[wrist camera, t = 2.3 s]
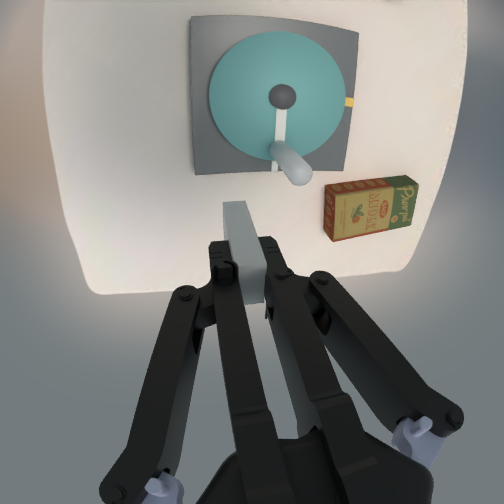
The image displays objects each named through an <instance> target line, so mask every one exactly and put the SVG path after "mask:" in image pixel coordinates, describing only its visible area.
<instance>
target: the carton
mask: <svg viewBox="0 0 504 504" xmlns="http://www.w3.org/2000/svg"><path fill="white" fill-rule="evenodd" d="M418 188H419V185H418V183H416V182H415V181H414V180H412V179H411V178H409V177H408V176H406V175H403V176H394V177H385V178H376V179H367V180H359V181H351V182H344V183H337V184H329V185H325V206H324V226H323V228H324V231H325V232H326V234H327V235H328V237H329V238H330V239H331V241H332V242H336V241H340V240H345V239H350V238H354V237H359V236H363V235H368V234H373V233H378V232H382V231H387V230H392V229H397V228H401V227H406V226H410V225H411V222H412V217H413V213H414V208H415V203H416V198H417V193H418Z"/></svg>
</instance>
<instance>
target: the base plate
mask: <svg viewBox="0 0 504 504" xmlns="http://www.w3.org/2000/svg"><path fill="white" fill-rule="evenodd" d="M272 31H284V32H291V33H295V34H299V35H302V36H304V37H307V38H309V39H311V40H313V41H314V42H316V43H317V44H319V45H320V46H321V47H323V48H324V49H325V50H326V51H327V52H328V53H329V54H330V55H331V56H332V58H333V59H334V61H335V62H336V63H337V65H338V67H339V69H340V71H341V74H342V77H343V80H344V84H345V93H346V98H345V107H344V112H343V115H342V118H341V120H340V122H339V125H338V126H337V128H336V130H335V131H334V133H333V134H332V135H331V136H330V138H329V139H328V140H327V141H326V142H325V143H324V144H322V145H321V146H320V147H318V148H317V149H316V150H314V151H312V152H310V153H308V154H306V155H304V156H301V157H302V158H303V159H304V160H305V161H306V162H307V163H308V164H309V165H310V167H311V168H312V171H343V168H344V162H345V156H346V150H347V143H348V137H349V130H350V122H351V114H352V107H353V102H354V89H355V79H356V67H357V55H358V39H359V33H358V32H354V31H350V30H346V29H342V28H338V27H333V26H328V25H323V24H318V23H312V22H306V21H300V20H292V19H284V18H274V17H262V16H241V15H213V16H192V17H191V107H192V132H193V151H194V167H195V175H206V174H220V173H237V172H260V171H282V169H281V168H280V167H279V165H278V164H277V163H276V161H272V160H264V159H260V158H256V157H253V156H251V155H248V154H246V153H244V152H242V151H241V150H239V149H237V148H236V147H235V146H234V145H232V144H231V143H230V142H229V141H228V140H227V139H226V138H225V137H224V135H223V134H222V133H221V131H220V130H219V128H218V126H217V125H216V123H215V120H214V118H213V115H212V112H211V108H210V102H209V87H210V82H211V78H212V75H213V72H214V70H215V68H216V66H217V64H218V63H219V61H220V60H221V58H222V57H223V56H224V55H225V54H226V53H227V52H228V51H229V50H230V49H231V48H232V47H233V46H235V45H236V44H237V43H239V42H241V41H243V40H244V39H246V38H248V37H251V36H253V35H256V34H260V33H264V32H272Z"/></svg>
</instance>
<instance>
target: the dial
mask: <svg viewBox="0 0 504 504" xmlns="http://www.w3.org/2000/svg"><path fill="white" fill-rule="evenodd" d="M345 98H346V93H345V84H344V80H343V77H342V74H341V71H340V69H339V67H338V65H337V63H336V62H335V61H334V59H333V58H332V56H331V55H330V54H329V53H328V52H327V51H326V50H325V49H324V48H323V47H321V46H320V45H319V44H317V43H316V42H314V41H313V40H311V39H309V38H307V37H304V36H302V35H299V34H295V33H291V32H284V31H272V32H264V33H260V34H256V35H253V36H251V37H248V38H246V39H244V40H243V41H241V42H239V43H237V44H236V45H235V46H233V47H232V48H231V49H230V50H229V51H228V52H227V53H226V54H225V55H224V56H223V57H222V58H221V60H220V61H219V63H218V64H217V66H216V68H215V70H214V72H213V75H212V78H211V82H210V87H209V102H210V108H211V112H212V115H213V118H214V120H215V123H216V125H217V126H218V128H219V130H220V131H221V133H222V134H223V135H224V137H225V138H226V139H227V140H228V141H229V142H230V143H231V144H232V145H234V146H235V147H236V148H237V149H239V150H241V151H242V152H244V153H246V154H248V155H251V156H253V157H256V158H260V159H264V160H272V161H276V163H277V164H278V165H279V167H280V168H281V169H282V171H283V172H284V173H285V175H286V176H287V177H288V179H289V180H290V182H291V183H292V184H294V185H297V186H302V185H305V184H307V183H308V182H309V181H310V180H311V178H312V175H313V171H312V168H311V167H310V165H309V164H308V163H307V162H306V161H305V160H304V159H303V158H302V157H301V156H304V155H306V154H308V153H310V152H312V151H314V150H316V149H317V148H318V147H320V146H321V145H322V144H324V143H325V142H326V141H327V140H328V139H329V138H330V136H331V135H332V134H333V133H334V131H335V130H336V128H337V126H338V125H339V122H340V120H341V118H342V115H343V112H344V107H345Z"/></svg>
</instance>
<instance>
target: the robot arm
mask: <svg viewBox="0 0 504 504" xmlns="http://www.w3.org/2000/svg"><path fill="white" fill-rule="evenodd" d="M223 226H224V241H213V242H211V243H210V245H209V247H208V248H209V259H210V270H211V279H210V281H209V283H208V284H207V285H205V286H203V287H201V288H198V289H197V288H195V287H194V286H190V285H184V286H181V287H178V288H177V289H176V290H174V292H173V294H172V297H171V299H170V302H169V305H168V308H167V311H166V314H165V317H164V320H163V323H162V325H161V328H160V332H159V335H158V338H157V341H156V344H155V347H154V350H153V353H152V356H151V360H150V363H149V366H148V369H147V373H146V376H145V380H144V383H143V387H142V390H141V393H140V397H139V401H138V404H137V408H136V412H135V415H134V419H133V423H132V427H131V431H130V435H129V439H128V443H127V447H126V448H125V450H124V451H123V453H122V454H121V455H120V457H119V458H118V460H117V461H116V463H115V464H114V465H113V467H112V468H111V469H110V471H109V472H108V474H107V475H106V476H105V478H104V479H103V481H102V482H101V484H100V487H99V494H100V497H101V499H102V501H103V502H104V503H105V504H183V503H182V499H183V495H184V488H183V485H182V483H181V482H180V481H179V480H178V479H176V478H175V477H174V476H175V473H176V471H177V468H178V465H179V461H180V456H181V451H182V445H183V439H184V433H185V428H186V422H187V417H188V411H189V406H190V401H191V395H192V389H193V385H194V380H195V374H196V370H197V365H198V360H199V355H200V350H201V344H202V340H203V335H204V331H205V328H206V327H208V326H211V325H213V324H217V332H218V339H219V347H220V353H221V361H222V368H223V375H224V382H225V388H226V395H227V401H228V407H229V412H230V419H231V425H232V431H233V436H234V442H235V448H236V451H235V452H234V453H232V454H231V455H230V456H229V457H228V458H226V460H225V461H224V462H223V463H222V465H221V466H220V468H219V469H218V471H217V472H216V474H215V476H214V477H213V479H212V480H211V482H210V484H209V485H208V486H207V488H206V489H205V491H204V492H203V494H202V495H201V497H200V498H199V500H198V501H197V502H196V504H431V499H432V493H433V487H434V486H433V484H434V482H433V477H432V475H431V473H430V471H429V469H430V467H431V465H432V463H433V461H434V460H435V458H436V456H437V454H438V452H439V450H440V448H441V446H442V444H443V442H444V440H445V438H446V437H447V436H449V435H450V434H452V433H453V432H455V431H457V430H458V429H460V428H461V426H462V424H463V421H464V414H463V411H462V409H461V408H460V407H459V406H458V405H456V404H455V403H453V402H452V401H450V400H449V399H447V398H446V397H444V396H442V395H441V394H439V393H438V392H436V391H435V390H433V389H432V388H430V387H428V385H427V384H426V383H425V382H424V380H423V379H422V378H421V377H420V376H419V374H418V373H417V372H416V371H415V369H414V368H413V367H412V366H411V364H410V363H409V362H408V361H407V360H406V358H405V357H404V356H403V355H402V354H401V352H400V351H399V350H398V349H397V348H396V347H395V345H394V344H393V343H392V342H391V341H390V340H389V338H388V337H387V336H386V335H385V334H384V333H383V331H382V330H380V328H379V327H378V326H377V325H376V323H375V322H374V321H373V320H372V319H371V318H370V317H369V316H368V314H367V313H366V312H365V311H364V310H363V309H362V308H361V306H360V305H359V304H358V303H357V302H356V301H355V300H354V299H353V297H352V296H351V295H350V294H349V293H348V292H347V291H346V290H345V289H344V288H343V286H342V285H341V284H340V283H339V282H338V281H337V280H336V279H335V278H334V277H333V276H332V275H331V274H330V273H328V272H325V271H315V272H313V273H312V274H311V275H310V277H304V276H299V275H296V274H294V272H293V271H292V270H291V269H290V268H288V267H287V265H286V263H285V260H284V258H283V256H282V253H281V252H280V249H279V246H278V244H277V241H276V240H275V239H274V238H272V237H271V236H265V237H258V236H257V233H256V230H255V228H254V225H253V222H252V219H251V216H250V213H249V210H248V207H247V204H246V202H245V201H233V202H223ZM264 296H265V300H266V312H265V319H267V316H268V319H269V323H270V326H271V330H272V333H273V337H274V340H275V344H276V348H277V351H278V355H279V358H280V362H281V366H282V369H283V373H284V376H285V380H286V383H287V387H288V390H289V394H290V397H291V401H292V405H293V408H294V412H295V415H296V419H297V430H298V436H299V438H298V439H278V437H277V433H276V429H275V425H274V421H273V417H272V414H271V412H270V411H269V409H268V406H267V402H266V398H265V394H264V390H263V385H262V381H261V377H260V373H259V369H258V364H257V360H256V356H255V351H254V347H253V343H252V338H251V334H250V329H249V325H248V320H247V316H246V311H245V307H244V305H248V304H256V303H264ZM324 345H325V346H326V348H327V349H328V351H329V352H330V353H331V355H332V356H333V357H334V359H335V360H336V361H337V363H338V364H339V366H340V367H341V368H342V370H343V371H344V373H345V374H346V375H347V377H348V378H349V380H350V381H351V382H352V384H353V385H354V386H355V388H356V389H357V390H358V392H359V393H360V395H361V396H362V397H363V398H364V400H365V402H366V403H367V404H368V406H369V407H370V408H371V410H372V411H373V413H374V414H375V416H376V417H377V418H378V419H379V420H380V422H381V423H382V424H383V425H384V426H385V427H386V428H387V429H388V430H389V431H391V432H392V433H393V439H392V445H393V446H394V447H397V448H398V449H399V450H400V452H399V451H397V450H395V449H393V448H392V447H390V446H388V445H387V444H385V443H383V442H382V441H380V440H378V439H377V438H375V437H373V436H372V435H370V434H368V433H367V432H365V431H364V430H363V427H362V424H361V422H360V419H359V416H358V414H357V411H356V409H355V406H354V403H353V401H352V399H351V397H350V396H349V395H348V394H347V393H344V392H343V391H342V389H341V388H340V385H339V382H338V379H337V377H336V375H335V372H334V369H333V367H332V364H331V361H330V359H329V356H328V354H327V351H326V349H325V346H324Z"/></svg>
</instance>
